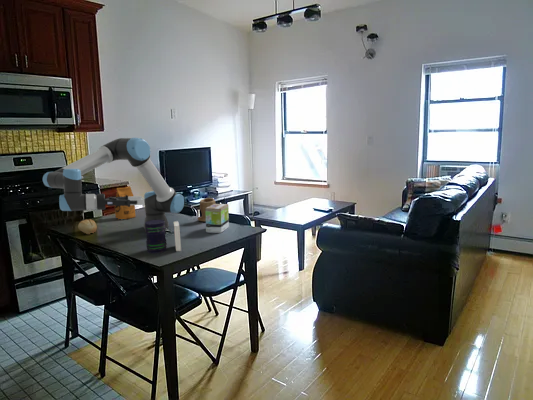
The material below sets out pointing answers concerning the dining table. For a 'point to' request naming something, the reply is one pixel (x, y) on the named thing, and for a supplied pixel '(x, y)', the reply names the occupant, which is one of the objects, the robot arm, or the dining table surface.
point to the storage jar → (155, 236)
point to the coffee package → (124, 211)
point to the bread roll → (87, 226)
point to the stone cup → (203, 205)
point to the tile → (177, 236)
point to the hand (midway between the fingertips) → (143, 200)
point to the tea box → (217, 218)
